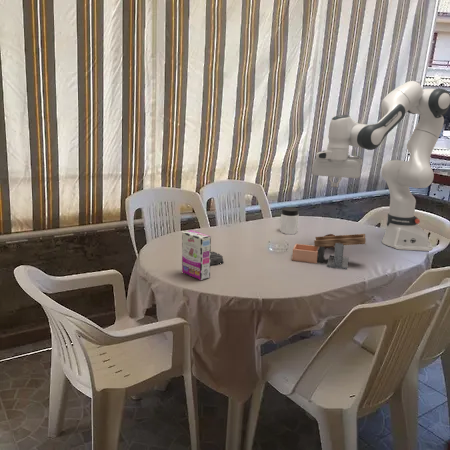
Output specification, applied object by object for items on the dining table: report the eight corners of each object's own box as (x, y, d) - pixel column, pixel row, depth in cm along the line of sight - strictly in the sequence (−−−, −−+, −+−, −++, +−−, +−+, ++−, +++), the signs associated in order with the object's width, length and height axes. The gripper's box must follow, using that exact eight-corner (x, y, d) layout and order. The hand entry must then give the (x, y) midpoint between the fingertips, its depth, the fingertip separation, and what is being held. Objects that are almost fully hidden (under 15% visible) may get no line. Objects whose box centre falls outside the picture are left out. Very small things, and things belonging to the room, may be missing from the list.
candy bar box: (211, 278, 173) (211, 235, 168) (200, 281, 169) (201, 238, 165) (191, 269, 180) (191, 229, 176) (181, 272, 177) (181, 231, 172)
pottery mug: (345, 254, 204) (339, 240, 201) (325, 262, 207) (318, 248, 203) (340, 240, 215) (334, 226, 211) (321, 247, 217) (315, 233, 214)
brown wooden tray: (365, 239, 191) (365, 232, 190) (365, 245, 183) (364, 238, 182) (316, 242, 197) (316, 236, 196) (314, 248, 189) (313, 241, 189)
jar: (284, 228, 240) (285, 206, 237) (299, 231, 237) (300, 208, 234) (278, 233, 233) (279, 209, 229) (293, 235, 229) (295, 212, 226)
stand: (348, 259, 197) (351, 236, 194) (347, 269, 185) (349, 245, 182) (320, 255, 200) (322, 233, 198) (316, 265, 188) (318, 242, 186)
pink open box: (318, 257, 198) (319, 246, 197) (316, 263, 191) (317, 252, 189) (295, 254, 201) (295, 243, 200) (292, 260, 193) (292, 249, 192)
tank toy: (198, 269, 182) (198, 257, 181) (190, 261, 191) (189, 249, 189) (226, 265, 187) (226, 253, 186) (216, 258, 195) (216, 246, 194)
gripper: (363, 155, 195) (359, 187, 199) (314, 152, 201) (311, 184, 204) (362, 157, 189) (359, 190, 193) (312, 154, 195) (310, 186, 199)
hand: (334, 187), depth 199 cm, fingers closed
